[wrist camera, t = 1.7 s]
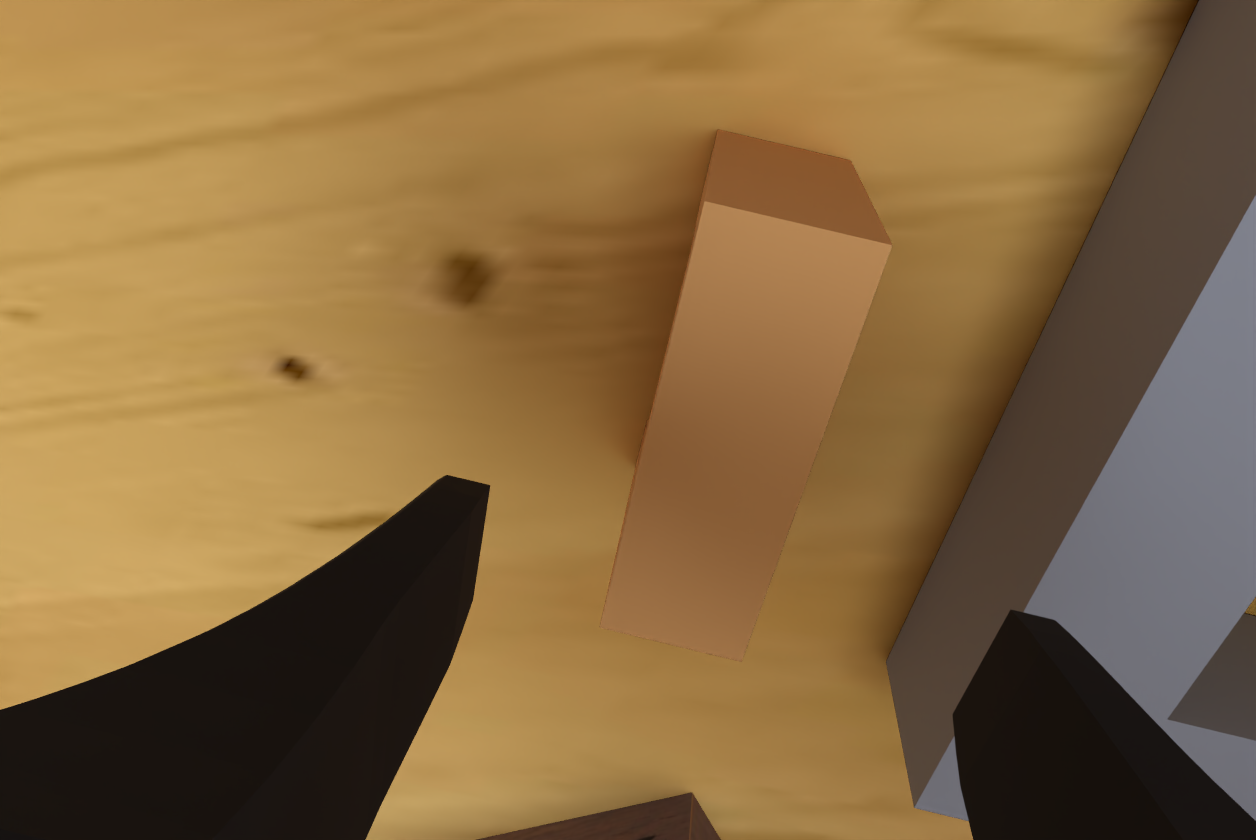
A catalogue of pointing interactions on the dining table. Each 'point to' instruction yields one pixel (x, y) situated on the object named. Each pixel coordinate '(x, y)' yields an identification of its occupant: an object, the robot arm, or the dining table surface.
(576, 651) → the dining table surface
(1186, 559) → the grey rectangular frame
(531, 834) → the tissue box cover
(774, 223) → the toy arch block
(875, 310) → the dining table surface
